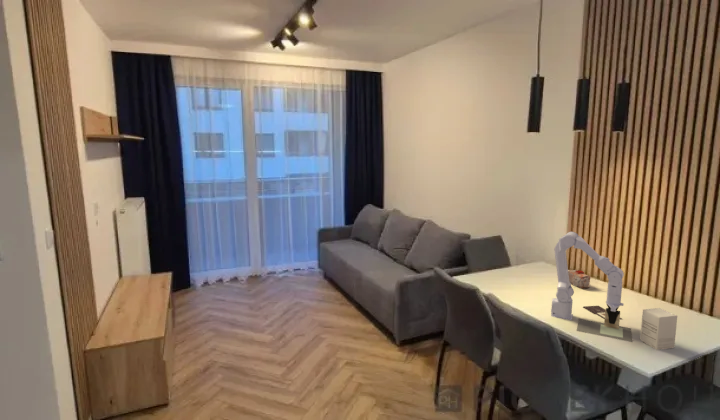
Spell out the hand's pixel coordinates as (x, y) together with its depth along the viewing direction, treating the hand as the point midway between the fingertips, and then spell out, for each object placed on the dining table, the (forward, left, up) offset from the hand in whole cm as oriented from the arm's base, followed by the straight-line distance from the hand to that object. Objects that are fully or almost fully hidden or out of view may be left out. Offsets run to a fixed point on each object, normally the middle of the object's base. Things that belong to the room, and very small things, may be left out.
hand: (611, 320), depth 192 cm
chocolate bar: (-4, +17, -4) cm, 18 cm away
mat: (-3, -5, -4) cm, 7 cm away
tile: (0, 0, -3) cm, 3 cm away
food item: (-18, +59, -4) cm, 62 cm away
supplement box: (+17, -9, -4) cm, 20 cm away
